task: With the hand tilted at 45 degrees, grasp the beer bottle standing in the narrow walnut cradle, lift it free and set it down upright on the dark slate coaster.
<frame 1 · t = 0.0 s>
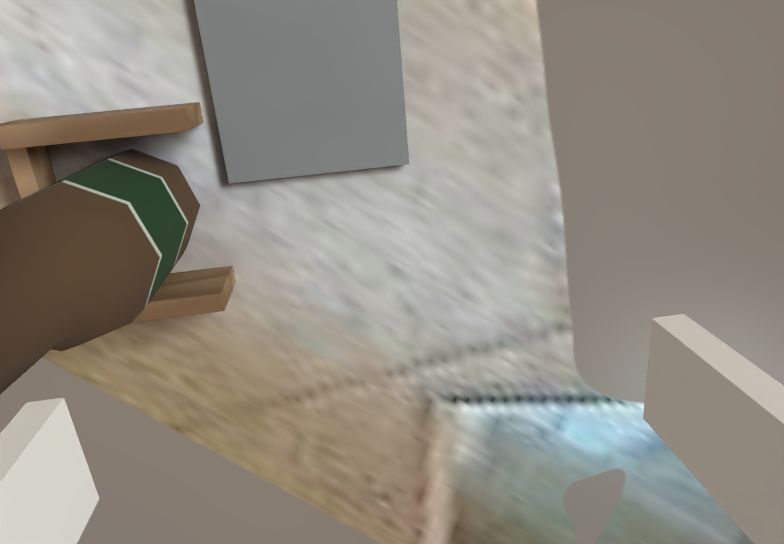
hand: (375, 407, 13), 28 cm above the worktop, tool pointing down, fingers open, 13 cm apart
cradle: (142, 205, 38), on the worktop
beer bottle: (143, 204, 38), on the worktop
coaster: (307, 78, 37), on the worktop
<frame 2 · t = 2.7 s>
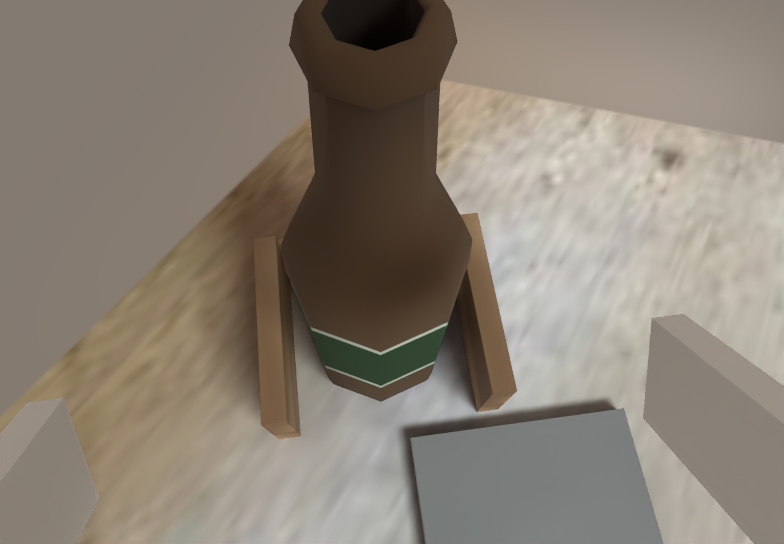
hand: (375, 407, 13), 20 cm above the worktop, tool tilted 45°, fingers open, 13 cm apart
cradle: (378, 338, 34), on the worktop
beer bottle: (378, 339, 34), on the worktop
coaster: (540, 541, 30), on the worktop
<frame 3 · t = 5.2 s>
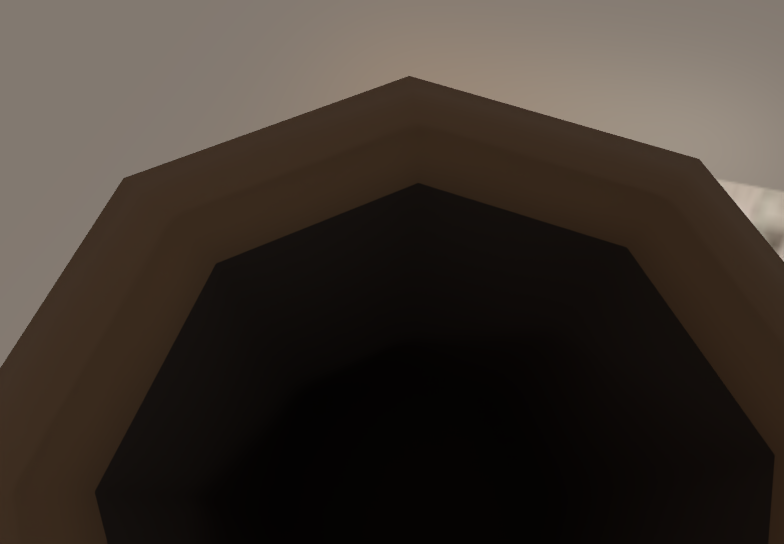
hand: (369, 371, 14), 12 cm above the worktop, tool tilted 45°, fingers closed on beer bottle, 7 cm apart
beer bottle: (385, 521, 24), on the worktop, touching gripper
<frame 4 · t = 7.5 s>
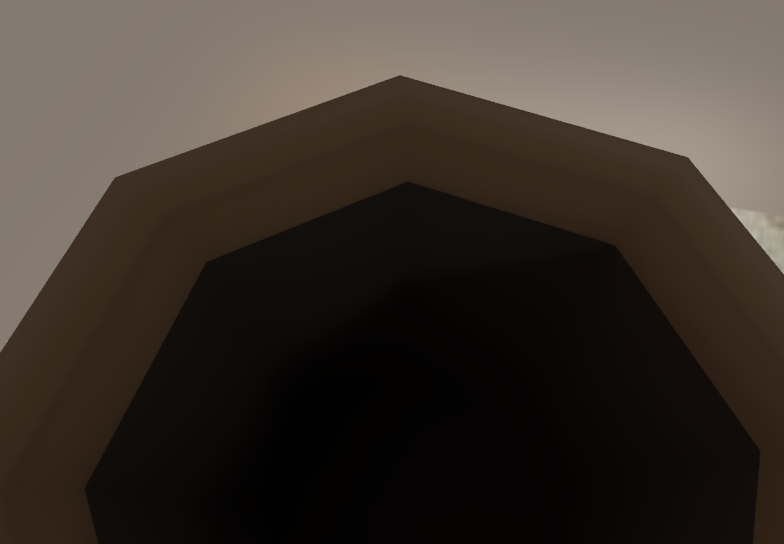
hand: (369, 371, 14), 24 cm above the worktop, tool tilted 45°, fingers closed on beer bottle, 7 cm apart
beer bottle: (384, 521, 24), point 12 cm above the worktop, touching gripper
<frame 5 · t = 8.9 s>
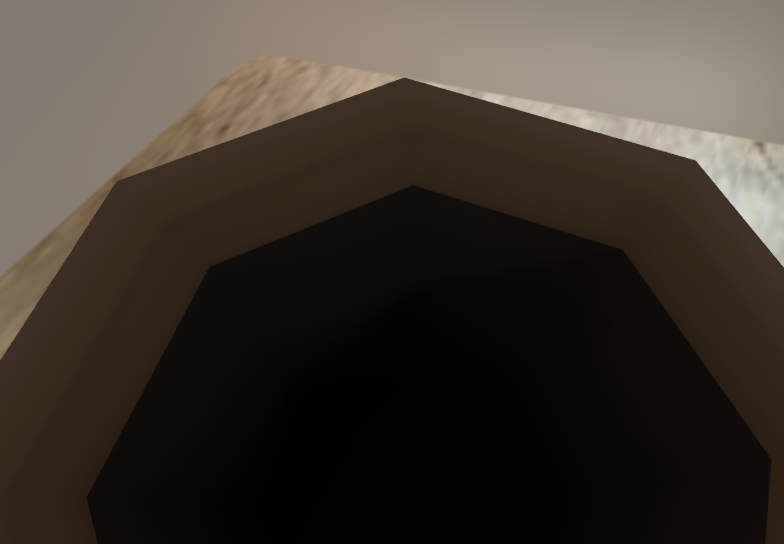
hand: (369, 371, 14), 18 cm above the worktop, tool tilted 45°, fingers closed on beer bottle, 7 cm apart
beer bottle: (385, 522, 24), point 7 cm above the worktop, touching gripper
when the fingers open (13 cm above the worktop, at t = 10.2 s): beer bottle drops 1 cm, resting on coaster.
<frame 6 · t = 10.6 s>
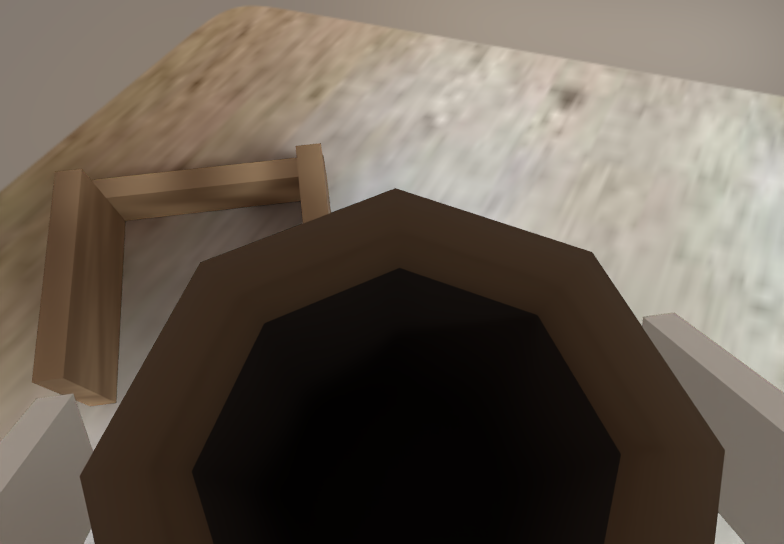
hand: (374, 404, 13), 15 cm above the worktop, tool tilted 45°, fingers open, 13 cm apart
cradle: (219, 293, 30), on the worktop
beer bottle: (380, 524, 25), point 1 cm above the worktop, touching coaster
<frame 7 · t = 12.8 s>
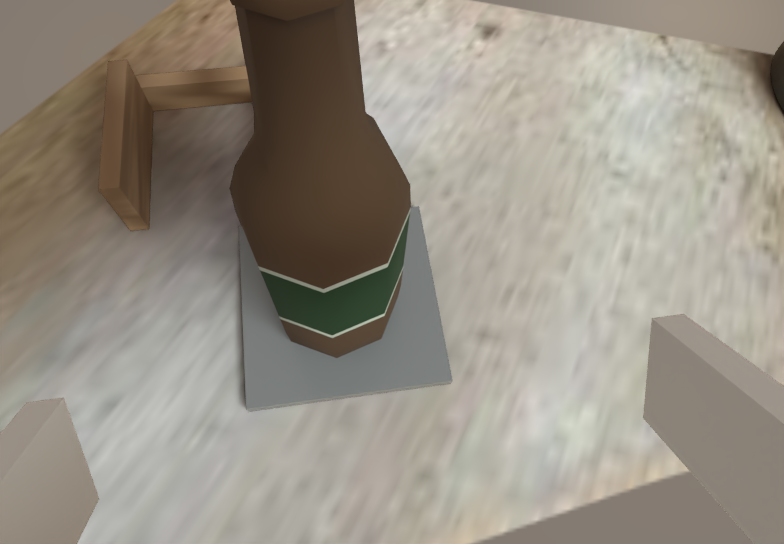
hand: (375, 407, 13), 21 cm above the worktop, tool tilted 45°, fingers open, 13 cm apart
cradle: (223, 159, 41), on the worktop
beer bottle: (336, 302, 36), point 1 cm above the worktop, touching coaster
coaster: (340, 303, 36), on the worktop
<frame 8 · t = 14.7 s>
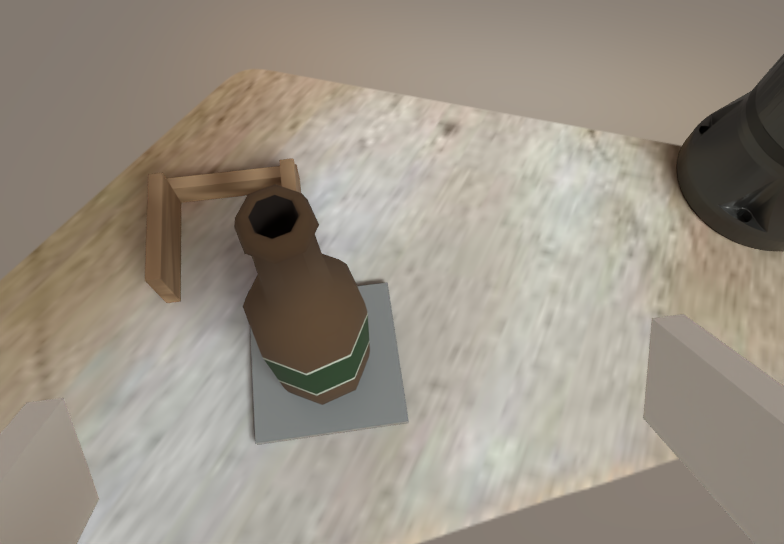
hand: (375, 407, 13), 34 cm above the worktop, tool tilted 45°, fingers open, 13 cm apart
cradle: (236, 243, 52), on the worktop
beer bottle: (323, 360, 47), point 1 cm above the worktop, touching coaster
coaster: (326, 360, 48), on the worktop
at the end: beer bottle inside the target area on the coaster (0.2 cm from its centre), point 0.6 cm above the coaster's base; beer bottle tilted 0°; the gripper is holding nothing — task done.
